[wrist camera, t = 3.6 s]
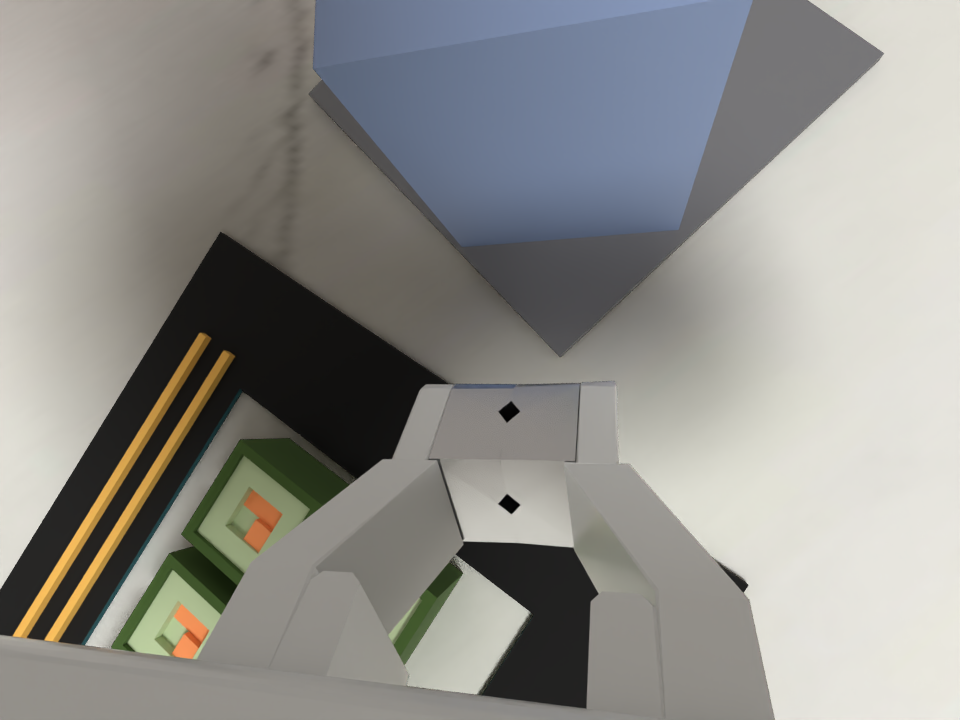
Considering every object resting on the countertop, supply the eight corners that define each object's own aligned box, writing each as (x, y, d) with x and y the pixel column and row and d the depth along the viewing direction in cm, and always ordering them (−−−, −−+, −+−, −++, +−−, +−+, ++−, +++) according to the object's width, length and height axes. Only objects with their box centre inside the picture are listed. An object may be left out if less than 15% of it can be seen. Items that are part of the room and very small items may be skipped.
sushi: (233, 238, 25) (170, 207, 22) (742, 578, 19) (772, 613, 15) (-44, 688, 26) (-150, 730, 22) (354, 1171, 19) (294, 1341, 16)
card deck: (678, 229, 20) (755, -8, 9) (462, 247, 21) (313, 68, 11) (675, 159, 20) (745, -150, 9) (462, 182, 22) (318, -52, 11)
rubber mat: (313, 99, 24) (308, 93, 24) (561, -162, 23) (560, -171, 23) (560, 357, 20) (559, 355, 20) (878, 60, 19) (884, 53, 19)
